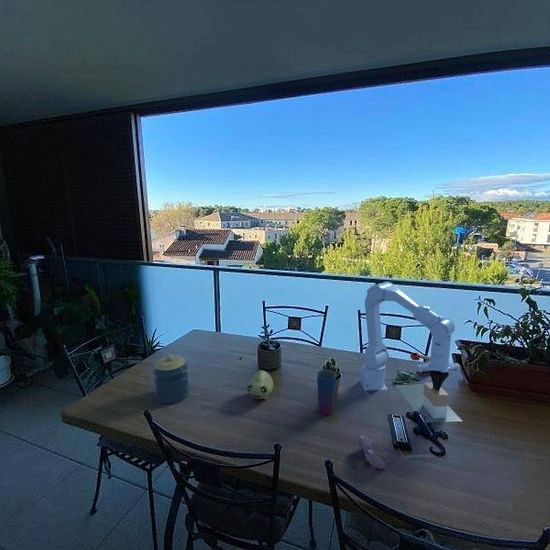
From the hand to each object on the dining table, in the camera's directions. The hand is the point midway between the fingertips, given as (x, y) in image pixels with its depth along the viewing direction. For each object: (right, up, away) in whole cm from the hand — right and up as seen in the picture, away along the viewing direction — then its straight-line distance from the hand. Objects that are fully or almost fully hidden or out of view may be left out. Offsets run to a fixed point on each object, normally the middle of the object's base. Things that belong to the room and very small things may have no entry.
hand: (436, 388), depth 116 cm
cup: (-39, -10, +3) cm, 40 cm away
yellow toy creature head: (-64, -8, +12) cm, 65 cm away
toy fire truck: (+10, -4, +29) cm, 31 cm away
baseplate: (0, -8, +8) cm, 11 cm away
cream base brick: (0, -9, +2) cm, 9 cm away
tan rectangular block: (0, -4, +1) cm, 5 cm away
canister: (-99, -8, +14) cm, 100 cm away
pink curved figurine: (-29, -14, -19) cm, 38 cm away
